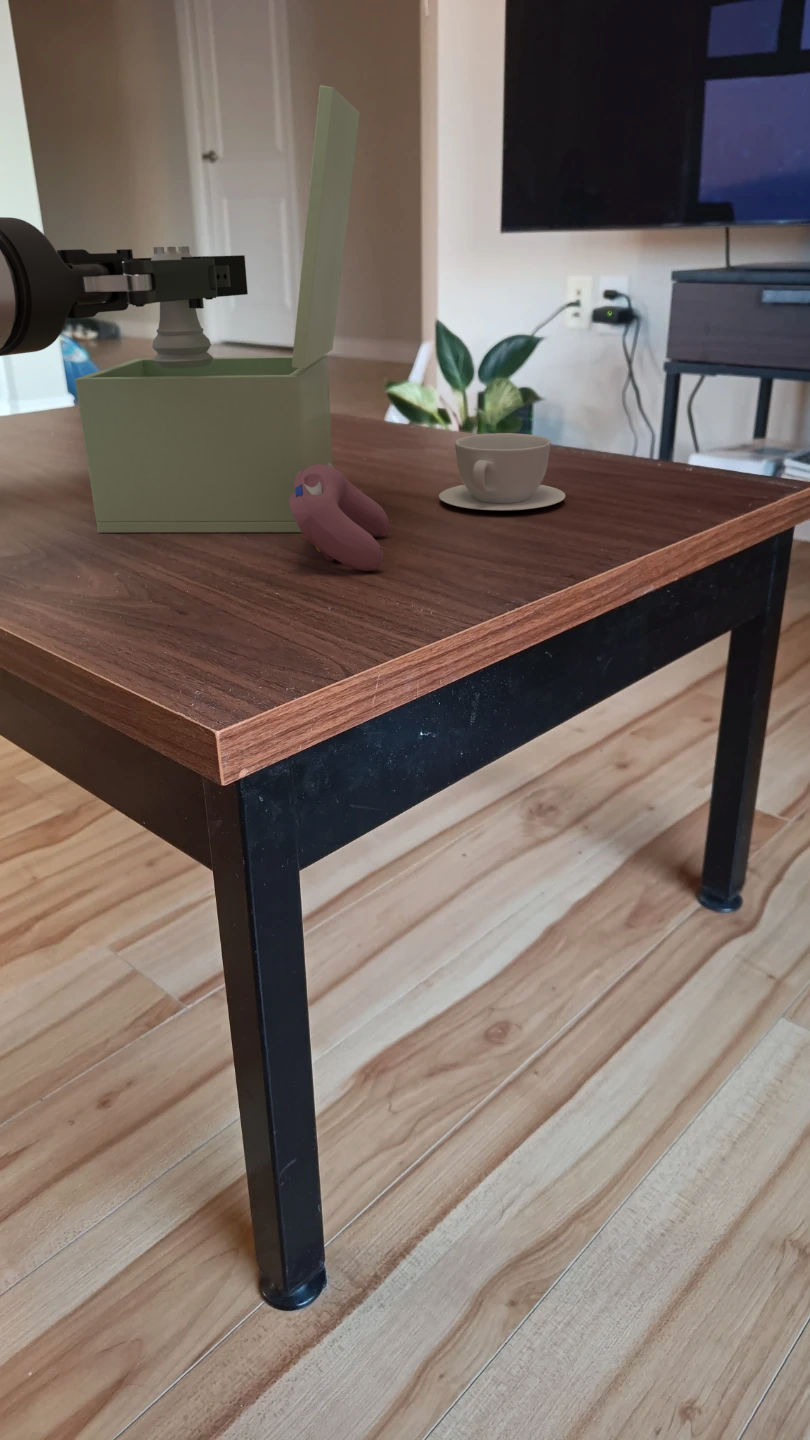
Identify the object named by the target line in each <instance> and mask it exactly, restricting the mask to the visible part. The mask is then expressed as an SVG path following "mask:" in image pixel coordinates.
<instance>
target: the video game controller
mask: <svg viewBox="0 0 810 1440" xmlns="http://www.w3.org/2000/svg"><path fill="white" fill-rule="evenodd" d="M289 504H290V508H291V511H292V514H293V516H294V518H295V520H296V522H297V524H298V526H299V528H300V530H301V531H302V532H301V534H302V535H303V536H304V538H305V539H306V540H307V541H308V542H309V543H310V544H311V545H312V546H313V547H315V548H316V550H317V551H318V552H319V553H322V555H323V557H324V558H325V559H326V560H328V561H329V562H331V561H333V560H335V561H337V562H340V563H341V564H342V565H345V566H347V567H348V568H350V569H354V570H357V571H361V572H374V571H377V569H379V567H380V566H381V565H382V563H383V561H384V554H383V553H384V552H383V548H382V546H381V545H380V543H378V541H377V540H376V539H375V538H380V537H382V536H384V535H385V534H386V533H387V532H388V529H389V528H390V523H389V522H390V521H389V517H388V514H387V513H386V511H385V510H384V509H383V507H382V506H381V505H380V504H379V503H378V502H376V501H375V500H374V499H372V498H371V497H370V496H368V495H367V494H365V493H363V491H361V490H359V489H358V488H357V487H356V486H355V485H354V484H352V482H350V480H349V479H348V478H347V477H346V476H345V474H343V473H342V472H341V471H340V470H338V469H335V468H334V466H333V467H332V465H331V463H328V465H321V464H317V465H313V466H310V467H308V468H307V469H304V470H302V471H300V472H299V473H298V474H297V475H296V477H295V481H294V494H293V495H292V496H291V497H290V498H289ZM374 537H375V538H374Z"/></svg>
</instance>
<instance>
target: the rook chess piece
mask: <svg viewBox="0 0 810 1440" xmlns="http://www.w3.org/2000/svg"><path fill="white" fill-rule="evenodd" d="M177 250H178V251H177ZM181 257H193V256H192V254H191V253H190V246H183V245H182V246H178V247H177V248H176V246H166V251H165V246H153V255H152V257H151V258H152V259H151V260H180V259H181ZM204 330H205V329H204V328H203V327H202V326H201V323H200V320H199V318H198V313H197V308H189V300H178V301H167V302H159V322H158V328H157V329H156V333H157V335H156V336H155V337H154V339H153V340H152V345H151V348H152V349H153V350H154V351H155V352H156V353H157V354H156V355H155V356H154V357H152V358H153V361H154V362H155V363H156V365H157V366H158V367H161V368H191V367H201V366H207V365H210V363H211V361H212V359H213V357H214V356H213V355H212V354H210V353H209V352H208V351H209V349H210V348H211V346H212V343H211V341H210V338H208V337H207V335H205V333H204Z"/></svg>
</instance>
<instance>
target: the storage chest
mask: <svg viewBox="0 0 810 1440" xmlns="http://www.w3.org/2000/svg"><path fill="white" fill-rule="evenodd" d="M212 357H213V359H212V361H211V363H210V365H207V366H201V367H191V368H161V367H158V366H157V365H156V363H155V362H154V361H153V358H154V357H145V358H143V357H141V358H137V357H136V358H134V359H130V360H127V361H125V362H121V363H119V364H116V365H113V366H110V367H106V368H104V369H100V370H98V371H95V372H92V373H89V374H86V375H83V376H80V377H77V378H75V379H74V382H75V383H74V384H75V389H76V396H77V403H78V409H79V410H78V411H79V417H80V421H81V430H82V435H83V436H82V437H83V444H84V449H85V456H86V464H87V469H88V475H89V483H90V490H91V495H92V502H93V509H94V515H95V521H96V530H97V533H99V534H110V533H111V534H115V533H116V534H120V533H121V534H125V533H126V534H129V533H130V534H133V533H134V534H135V533H136V534H138V533H139V534H140V533H141V534H143V533H145V534H146V533H148V534H150V533H151V534H152V533H153V534H156V533H158V534H161V533H164V534H165V533H167V534H168V533H169V534H171V533H172V534H173V533H179V534H180V533H182V534H183V533H185V534H186V533H192V534H194V533H199V534H200V533H202V534H203V533H204V534H205V533H210V534H211V533H216V534H217V533H220V534H221V533H227V534H228V533H241V534H243V533H244V534H245V533H252V534H253V533H302V531H301V530H300V528H299V526H298V524H297V522H296V520H295V518H294V516H293V514H292V511H291V508H290V504H289V498H290V497H291V496H292V495H293V494H294V481H295V477H296V475H297V474H298V473H299V472H300V471H302V470H304V469H307V468H308V467H310V466H313V465H317V464H321V465H328V463H331V465H332V467H333V468H334V462H333V461H334V460H333V459H334V457H333V444H332V443H333V442H332V441H333V440H332V439H333V438H332V421H331V419H332V418H331V401H330V383H329V381H330V380H329V361H328V360H329V359H328V355H324V356H322V357H321V358H319V359H318V360H316V361H315V362H313V363H312V364H311V365H309V366H308V367H306V368H305V369H298V368H293V367H292V359H293V355H282V356H281V355H277V356H276V355H275V356H271V355H270V356H212Z"/></svg>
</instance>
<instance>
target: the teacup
mask: <svg viewBox="0 0 810 1440" xmlns="http://www.w3.org/2000/svg"><path fill="white" fill-rule="evenodd" d="M551 446H552V441H551V439H550V438H547V437H545V436H542V435H541V436H540V435H535V434H528V433H514V432H513V433H511V432H496V433H480V434H474V435H468V436H463V437H460V438H457V439H456V440H455V442H454V448H455V455H456V464H457V470H458V474H459V477H460V479H461V481H462V484H461V485H456V486H451V487H449V488H447V489H444V490H442V491H441V492H439V494H438V498H439V499H440V501H442V502H444V503H446V504H448V505H450V506H451V505H452V506H456V507H458V508H463V509H471V510H481V511H522V510H532V509H538V508H544V507H550V506H552V505H555V504H557V503H561V502H562V501H563V500H564V499H565V498H566V493H565V492H564V491H563V490H560V489H559V488H556V487H553V486H549V485H546V484H541V483H542V482H543V480H544V478H545V477H546V473H547V469H548V465H549V458H550V452H551Z"/></svg>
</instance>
